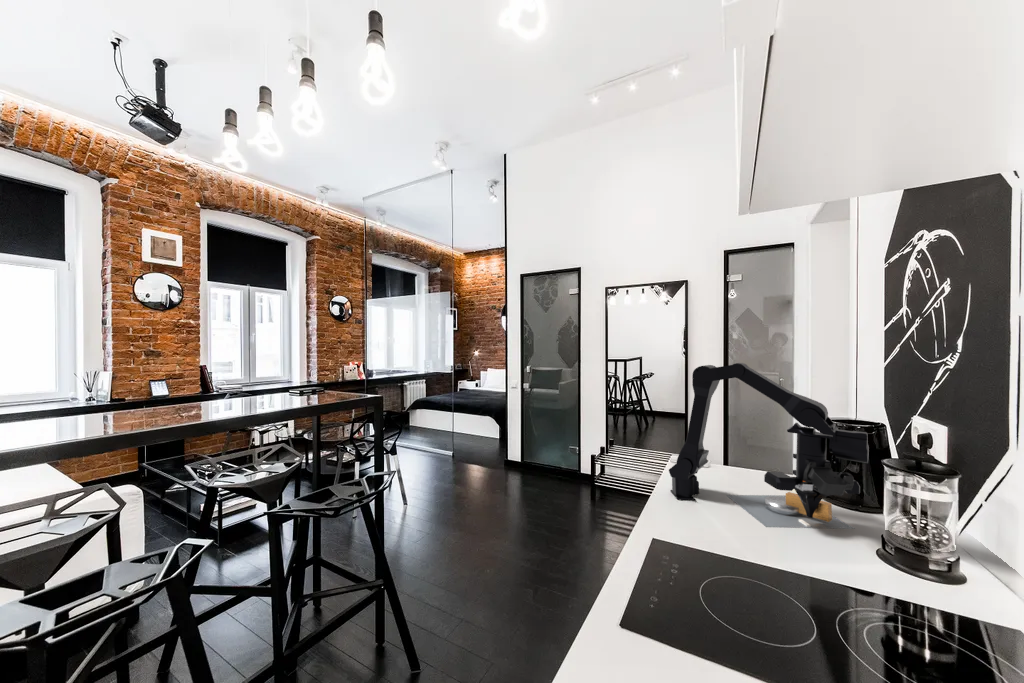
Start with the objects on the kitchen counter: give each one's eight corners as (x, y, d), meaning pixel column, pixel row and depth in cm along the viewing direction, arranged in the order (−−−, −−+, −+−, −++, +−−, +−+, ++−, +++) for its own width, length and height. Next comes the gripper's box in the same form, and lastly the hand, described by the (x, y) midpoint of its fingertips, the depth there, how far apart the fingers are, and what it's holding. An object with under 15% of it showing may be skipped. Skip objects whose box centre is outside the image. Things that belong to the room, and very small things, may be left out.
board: (766, 532, 91) (766, 525, 91) (726, 499, 111) (725, 493, 111) (855, 533, 90) (854, 526, 90) (798, 499, 110) (797, 494, 110)
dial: (759, 507, 102) (759, 490, 102) (773, 501, 106) (773, 484, 106) (823, 528, 90) (823, 508, 90) (836, 519, 94) (836, 500, 94)
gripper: (792, 462, 86) (791, 531, 86) (881, 465, 84) (880, 536, 84) (763, 448, 97) (762, 509, 97) (841, 451, 95) (840, 513, 95)
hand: (809, 517), depth 93 cm, fingers closed
